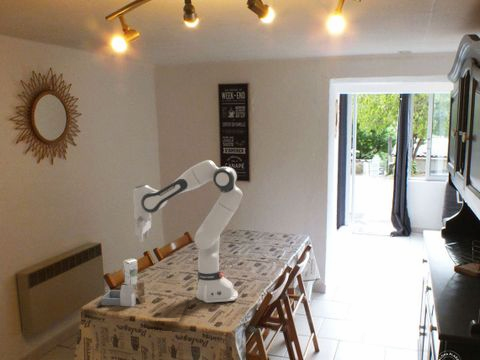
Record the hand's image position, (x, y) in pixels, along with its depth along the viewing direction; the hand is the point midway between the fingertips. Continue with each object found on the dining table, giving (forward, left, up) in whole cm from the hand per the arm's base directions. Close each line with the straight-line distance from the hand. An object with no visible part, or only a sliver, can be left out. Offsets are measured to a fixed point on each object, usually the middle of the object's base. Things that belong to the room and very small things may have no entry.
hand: (143, 239), depth 230 cm
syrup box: (+13, -13, -30) cm, 35 cm away
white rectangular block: (+5, +17, -30) cm, 35 cm away
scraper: (0, +11, -30) cm, 32 cm away
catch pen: (+13, +12, -30) cm, 35 cm away
